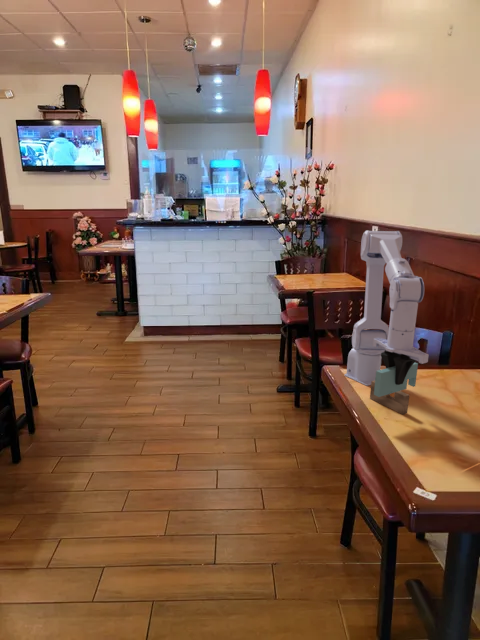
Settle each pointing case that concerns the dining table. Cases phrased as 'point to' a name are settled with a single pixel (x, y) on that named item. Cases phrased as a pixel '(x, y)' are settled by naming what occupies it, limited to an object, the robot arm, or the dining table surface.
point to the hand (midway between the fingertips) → (395, 382)
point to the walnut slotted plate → (392, 400)
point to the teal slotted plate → (393, 380)
